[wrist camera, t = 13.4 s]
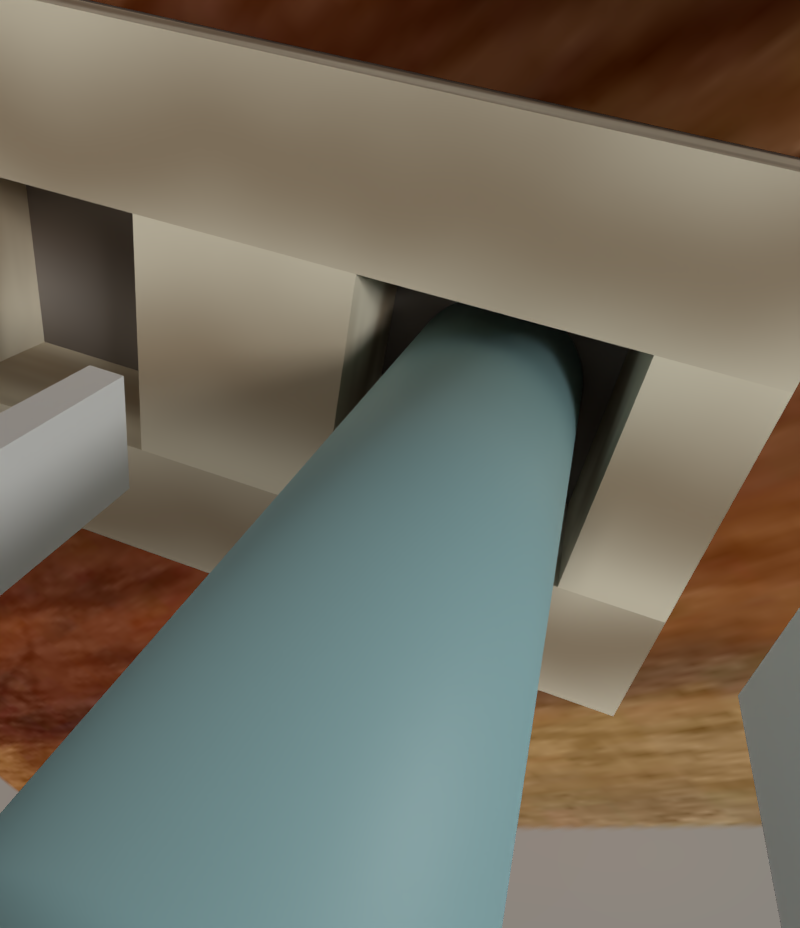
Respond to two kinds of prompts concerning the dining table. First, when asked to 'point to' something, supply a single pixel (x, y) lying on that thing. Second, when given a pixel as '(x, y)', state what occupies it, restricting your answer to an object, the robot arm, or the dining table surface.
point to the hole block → (386, 286)
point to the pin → (335, 677)
